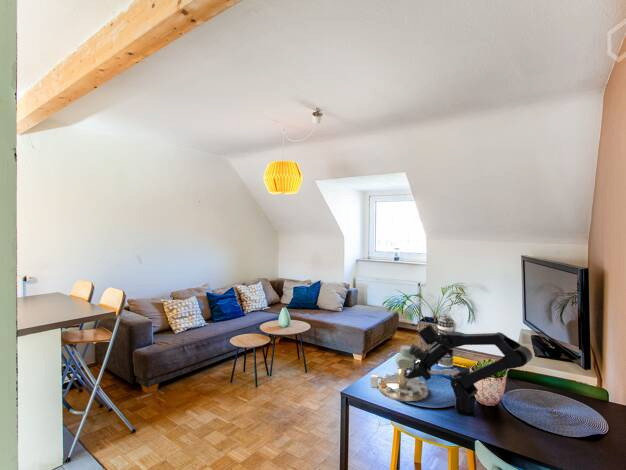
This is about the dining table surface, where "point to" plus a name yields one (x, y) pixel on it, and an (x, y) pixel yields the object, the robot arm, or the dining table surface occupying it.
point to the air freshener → (405, 358)
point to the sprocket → (403, 383)
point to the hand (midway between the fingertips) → (407, 378)
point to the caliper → (446, 371)
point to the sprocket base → (402, 395)
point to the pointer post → (374, 380)
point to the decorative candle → (444, 327)
